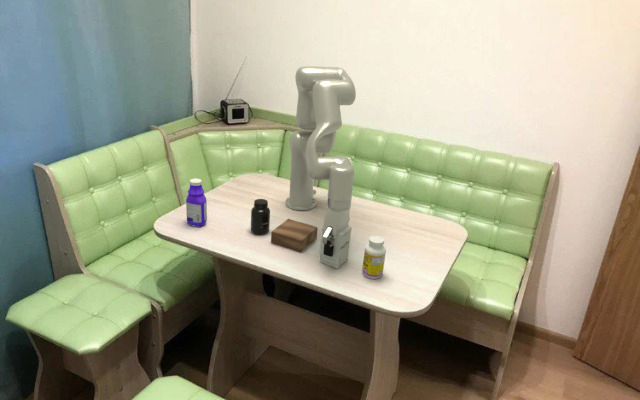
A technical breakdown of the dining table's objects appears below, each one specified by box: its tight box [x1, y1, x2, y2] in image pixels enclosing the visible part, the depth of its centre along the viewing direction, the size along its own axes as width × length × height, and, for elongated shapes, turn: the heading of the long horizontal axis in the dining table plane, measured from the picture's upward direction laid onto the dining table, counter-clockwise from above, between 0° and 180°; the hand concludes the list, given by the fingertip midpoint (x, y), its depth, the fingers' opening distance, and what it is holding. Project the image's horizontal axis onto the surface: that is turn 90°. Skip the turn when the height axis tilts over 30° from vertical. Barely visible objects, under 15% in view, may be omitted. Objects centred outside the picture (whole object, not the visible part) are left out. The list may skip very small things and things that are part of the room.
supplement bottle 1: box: [250, 198, 271, 236], centre depth 178 cm, size 7×7×12 cm
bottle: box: [185, 178, 208, 227], centre depth 179 cm, size 7×6×17 cm
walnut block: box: [270, 218, 318, 253], centre depth 174 cm, size 12×12×5 cm
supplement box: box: [318, 225, 353, 269], centre depth 162 cm, size 7×7×13 cm
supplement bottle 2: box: [361, 235, 387, 280], centre depth 156 cm, size 7×7×13 cm
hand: (334, 249), depth 163 cm, fingers open, 9 cm apart
